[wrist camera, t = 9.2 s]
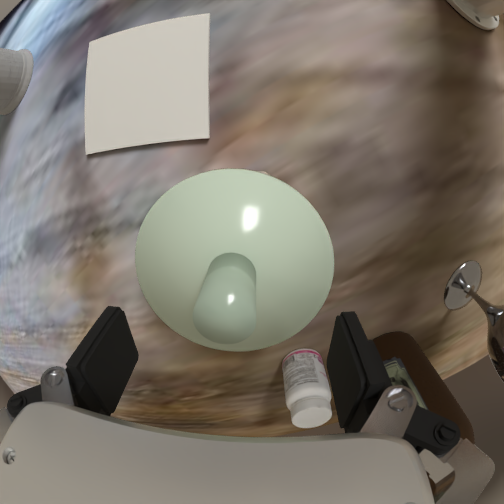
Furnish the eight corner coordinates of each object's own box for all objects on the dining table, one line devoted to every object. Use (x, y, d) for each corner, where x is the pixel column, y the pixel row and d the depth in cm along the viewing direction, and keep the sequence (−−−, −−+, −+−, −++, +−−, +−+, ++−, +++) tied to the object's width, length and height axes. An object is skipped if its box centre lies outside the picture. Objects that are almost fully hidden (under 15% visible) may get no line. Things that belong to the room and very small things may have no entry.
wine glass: (440, 322, 28) (499, 402, 14) (441, 272, 25) (522, 352, 11) (481, 297, 27) (543, 362, 13) (485, 248, 24) (564, 308, 10)
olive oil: (430, 341, 29) (511, 486, 6) (378, 391, 33) (425, 535, 10) (387, 314, 27) (486, 512, 4) (328, 374, 31) (367, 561, 8)
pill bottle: (323, 369, 30) (336, 424, 23) (285, 377, 31) (291, 433, 23) (319, 342, 29) (335, 400, 21) (278, 351, 29) (283, 411, 21)
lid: (127, 175, 16) (78, 192, 11) (338, 169, 16) (376, 183, 11) (157, 340, 21) (136, 391, 16) (319, 342, 21) (334, 396, 16)
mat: (92, 43, 16) (89, 42, 16) (210, 15, 16) (209, 13, 16) (88, 154, 21) (85, 154, 21) (209, 138, 21) (208, 138, 20)
